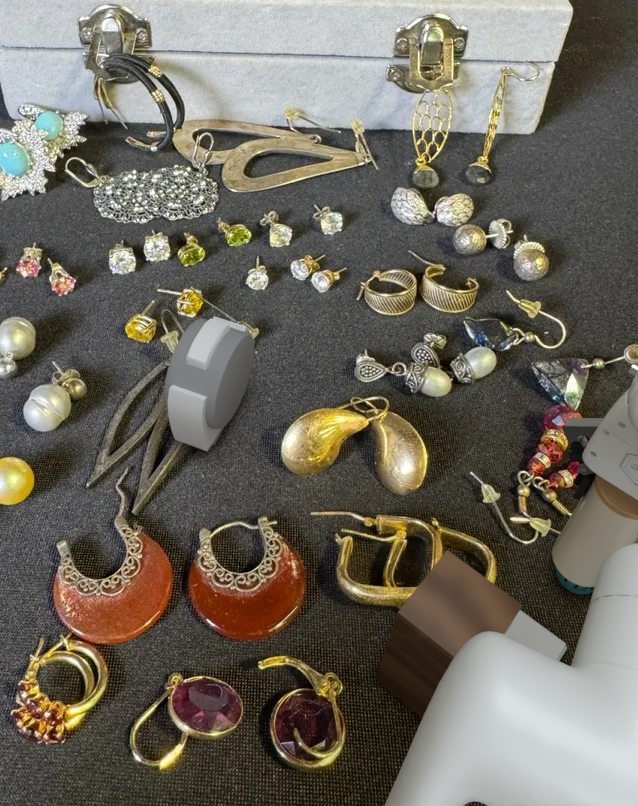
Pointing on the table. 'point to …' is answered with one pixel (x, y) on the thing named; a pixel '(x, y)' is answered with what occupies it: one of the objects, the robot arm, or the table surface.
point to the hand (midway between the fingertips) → (615, 509)
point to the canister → (595, 531)
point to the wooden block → (440, 628)
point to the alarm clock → (207, 379)
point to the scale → (536, 636)
